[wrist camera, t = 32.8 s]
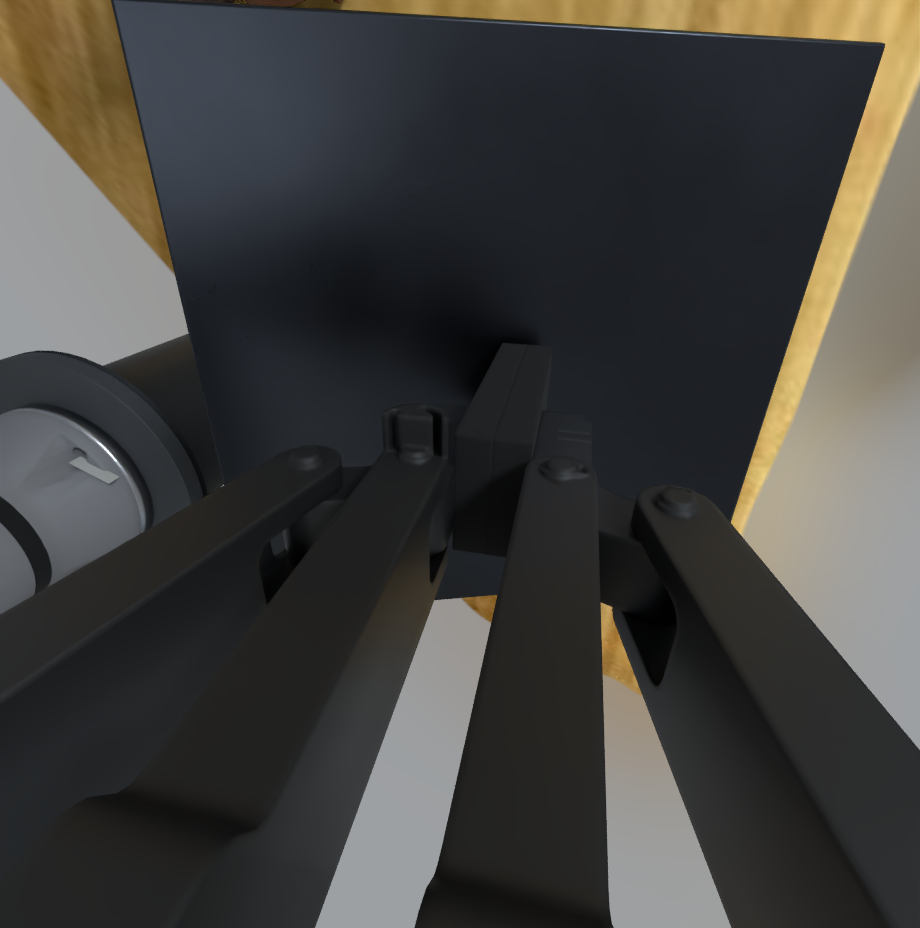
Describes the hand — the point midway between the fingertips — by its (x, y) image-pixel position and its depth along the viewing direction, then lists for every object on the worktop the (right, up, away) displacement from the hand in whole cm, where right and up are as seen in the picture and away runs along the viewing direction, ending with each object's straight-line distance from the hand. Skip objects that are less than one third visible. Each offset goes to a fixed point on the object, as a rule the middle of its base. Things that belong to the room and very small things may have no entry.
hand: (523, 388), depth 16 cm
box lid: (0, +1, +1) cm, 1 cm away
